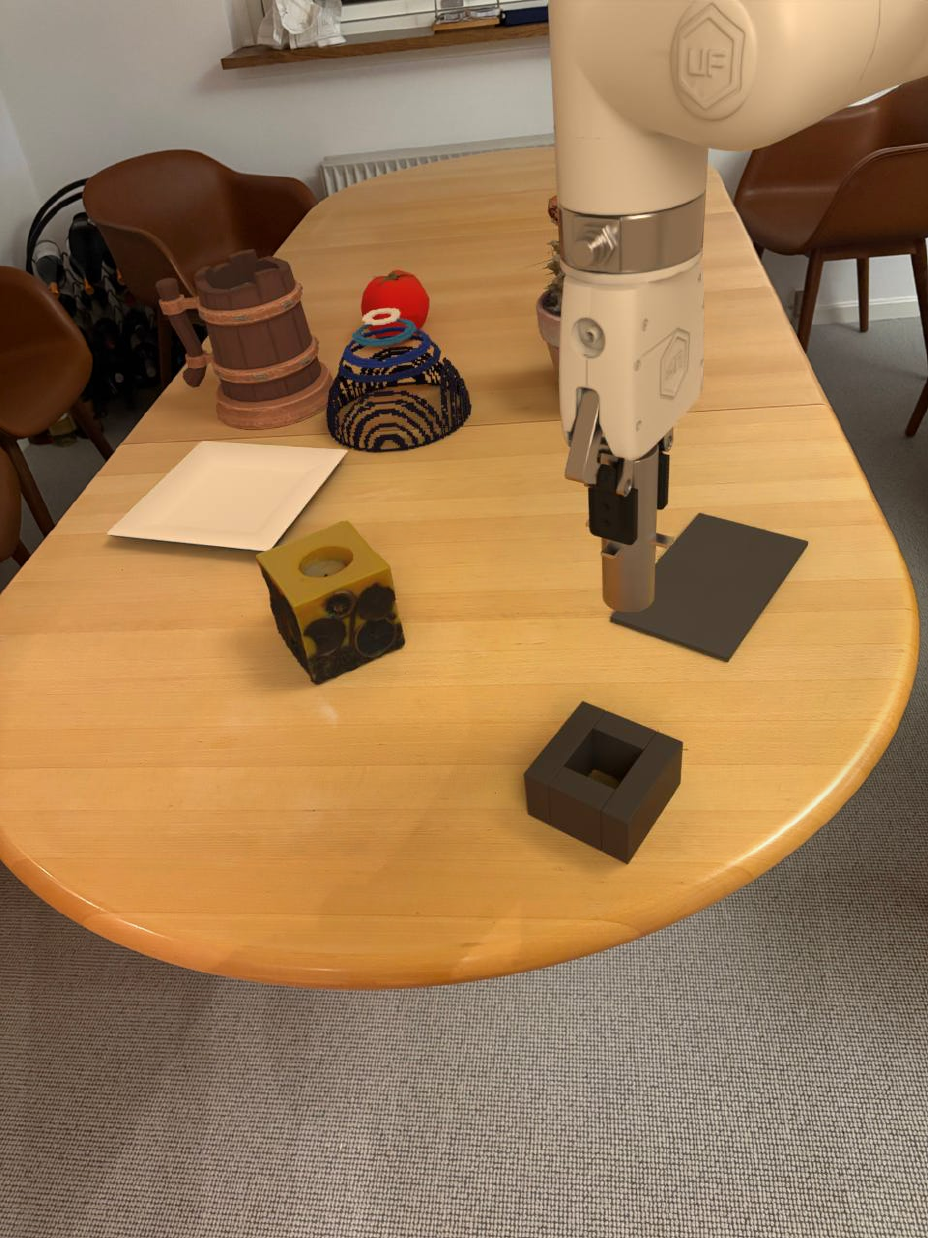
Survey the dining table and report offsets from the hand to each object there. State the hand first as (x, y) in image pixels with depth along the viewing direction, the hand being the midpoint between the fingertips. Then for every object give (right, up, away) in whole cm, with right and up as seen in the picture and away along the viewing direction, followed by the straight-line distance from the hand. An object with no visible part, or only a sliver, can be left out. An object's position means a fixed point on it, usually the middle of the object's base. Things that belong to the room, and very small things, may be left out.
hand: (629, 518), depth 58 cm
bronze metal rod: (+1, -5, +4) cm, 7 cm away
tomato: (-21, +40, +88) cm, 99 cm away
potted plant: (+9, +24, +64) cm, 69 cm away
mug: (-41, +26, +75) cm, 89 cm away
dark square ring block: (0, -21, +12) cm, 24 cm away
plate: (-40, +8, +53) cm, 67 cm away
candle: (-23, -9, +30) cm, 39 cm away
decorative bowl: (-20, +22, +66) cm, 72 cm away
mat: (+14, -3, +30) cm, 33 cm away
